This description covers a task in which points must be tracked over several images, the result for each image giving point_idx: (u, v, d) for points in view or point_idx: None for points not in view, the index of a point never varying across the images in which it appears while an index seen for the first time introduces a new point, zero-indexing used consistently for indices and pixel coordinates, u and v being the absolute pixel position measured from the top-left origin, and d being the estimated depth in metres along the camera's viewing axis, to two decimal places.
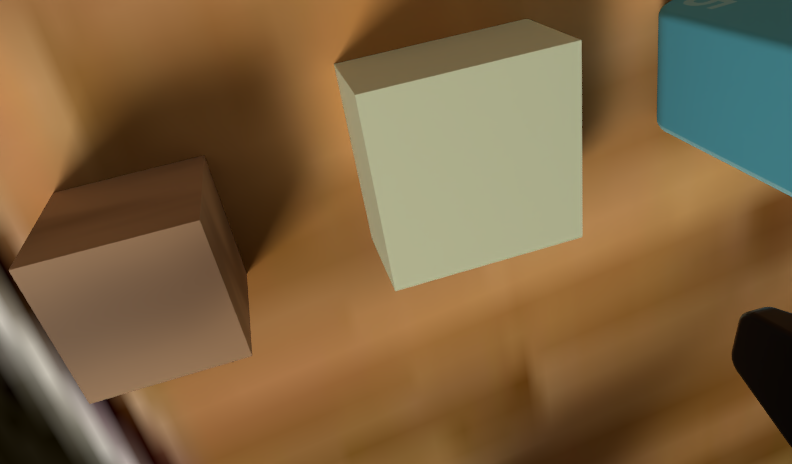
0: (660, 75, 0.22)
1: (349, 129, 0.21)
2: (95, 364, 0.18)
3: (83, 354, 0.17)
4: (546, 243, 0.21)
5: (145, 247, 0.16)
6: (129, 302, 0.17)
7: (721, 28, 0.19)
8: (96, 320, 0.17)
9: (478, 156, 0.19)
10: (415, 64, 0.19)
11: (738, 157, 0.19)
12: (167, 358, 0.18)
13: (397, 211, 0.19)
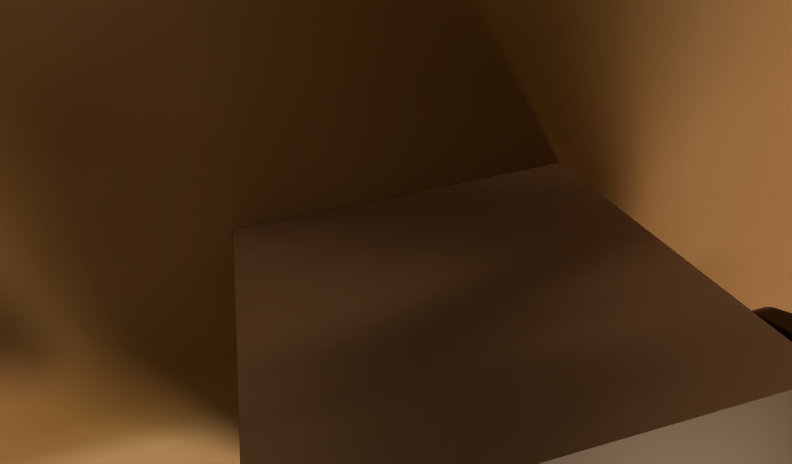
0: None
1: None
2: None
3: None
4: None
5: None
6: None
7: None
8: None
9: None
10: None
11: None
12: None
13: None
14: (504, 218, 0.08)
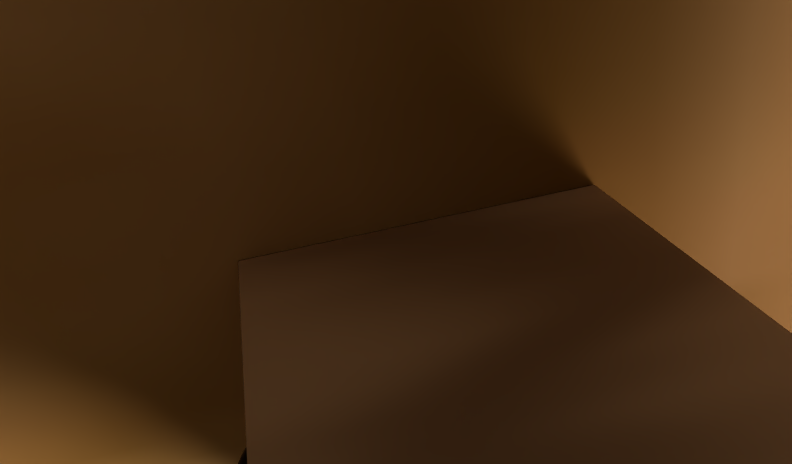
0: None
1: None
2: None
3: None
4: None
5: None
6: None
7: None
8: None
9: None
10: None
11: None
12: None
13: None
14: (542, 253, 0.07)
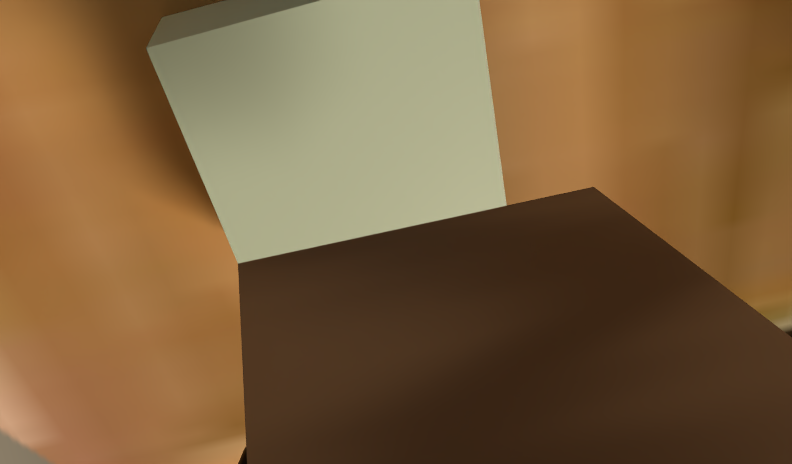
0: None
1: None
2: None
3: None
4: (475, 26, 0.13)
5: None
6: None
7: None
8: None
9: (331, 165, 0.14)
10: None
11: None
12: None
13: None
14: (541, 256, 0.07)
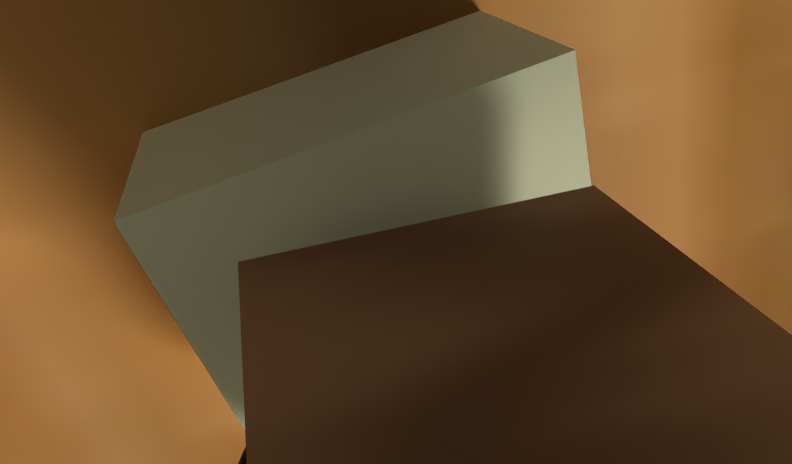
0: None
1: None
2: None
3: None
4: (575, 138, 0.10)
5: None
6: None
7: None
8: None
9: None
10: None
11: None
12: None
13: None
14: (541, 254, 0.07)
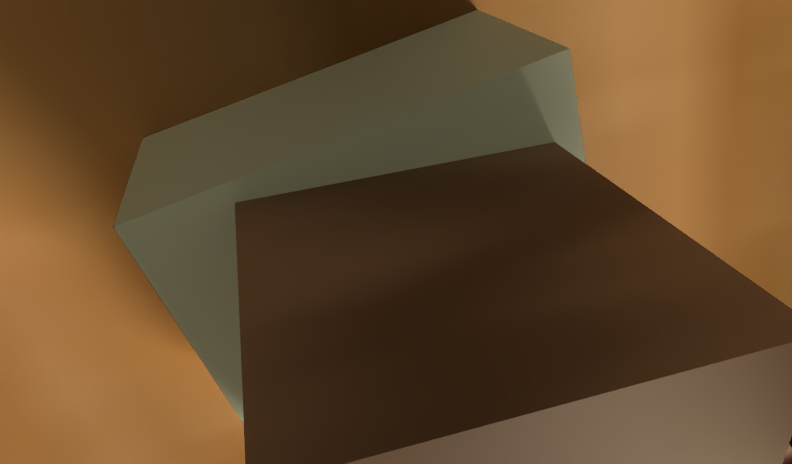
0: None
1: None
2: None
3: None
4: (572, 136, 0.10)
5: None
6: None
7: None
8: None
9: None
10: None
11: None
12: None
13: None
14: (502, 193, 0.08)
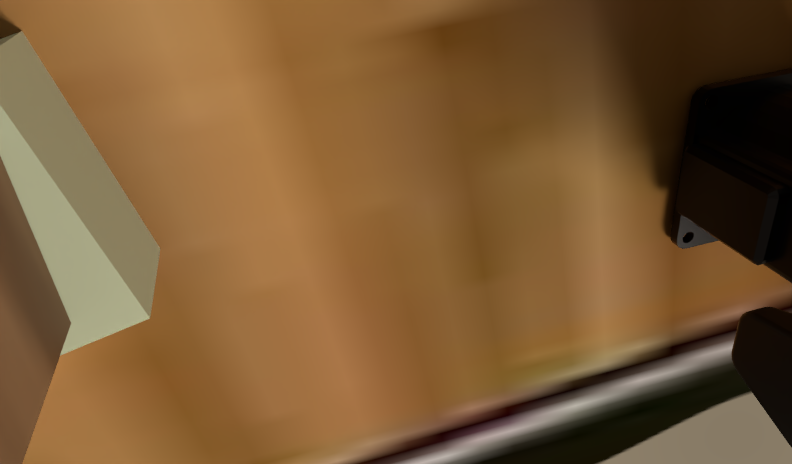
0: None
1: None
2: None
3: None
4: (8, 129, 0.13)
5: None
6: None
7: None
8: None
9: None
10: None
11: None
12: None
13: None
14: None
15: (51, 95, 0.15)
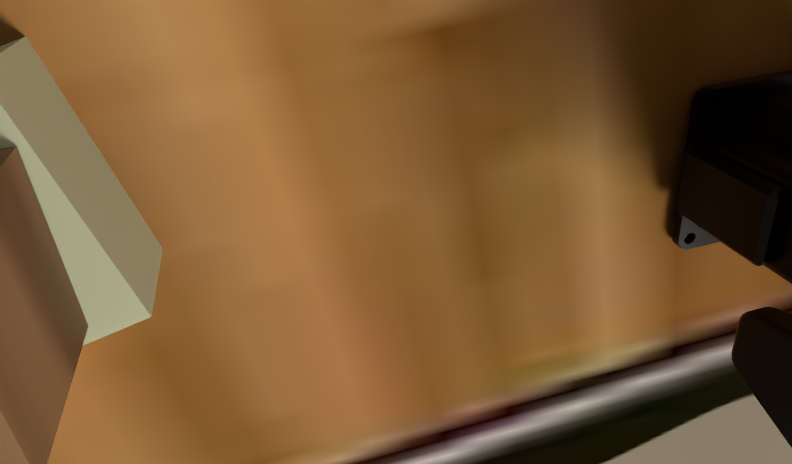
0: None
1: None
2: None
3: None
4: (11, 132, 0.13)
5: None
6: None
7: None
8: None
9: None
10: None
11: None
12: None
13: None
14: None
15: (54, 99, 0.16)
